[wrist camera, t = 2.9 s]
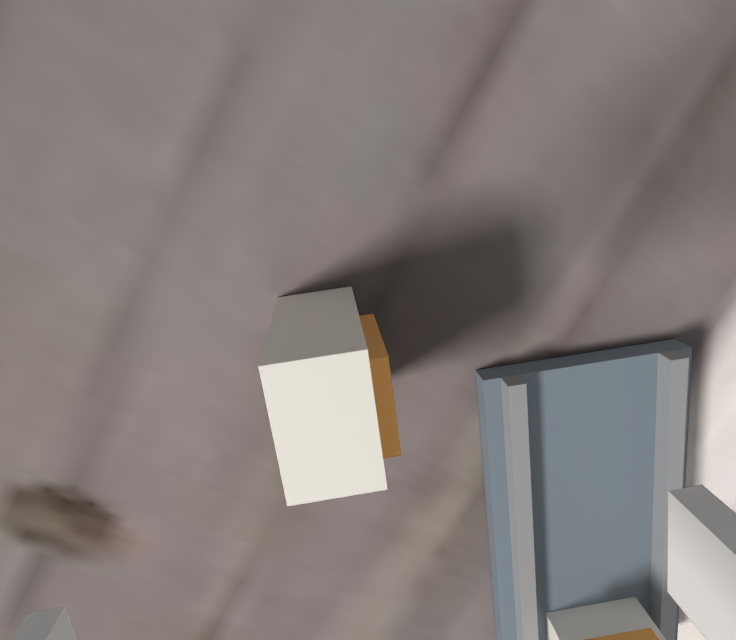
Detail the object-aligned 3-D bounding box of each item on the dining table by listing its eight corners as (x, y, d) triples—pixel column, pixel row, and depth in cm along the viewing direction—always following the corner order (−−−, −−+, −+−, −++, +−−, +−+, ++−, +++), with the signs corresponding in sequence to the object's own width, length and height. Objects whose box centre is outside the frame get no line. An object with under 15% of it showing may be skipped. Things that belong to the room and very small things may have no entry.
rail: (497, 659, 38) (570, 863, 27) (475, 370, 31) (559, 486, 20) (663, 628, 39) (800, 817, 28) (675, 338, 32) (862, 435, 21)
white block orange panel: (277, 297, 29) (258, 366, 20) (365, 284, 29) (389, 345, 20) (296, 398, 31) (287, 506, 21) (379, 384, 31) (407, 486, 22)
